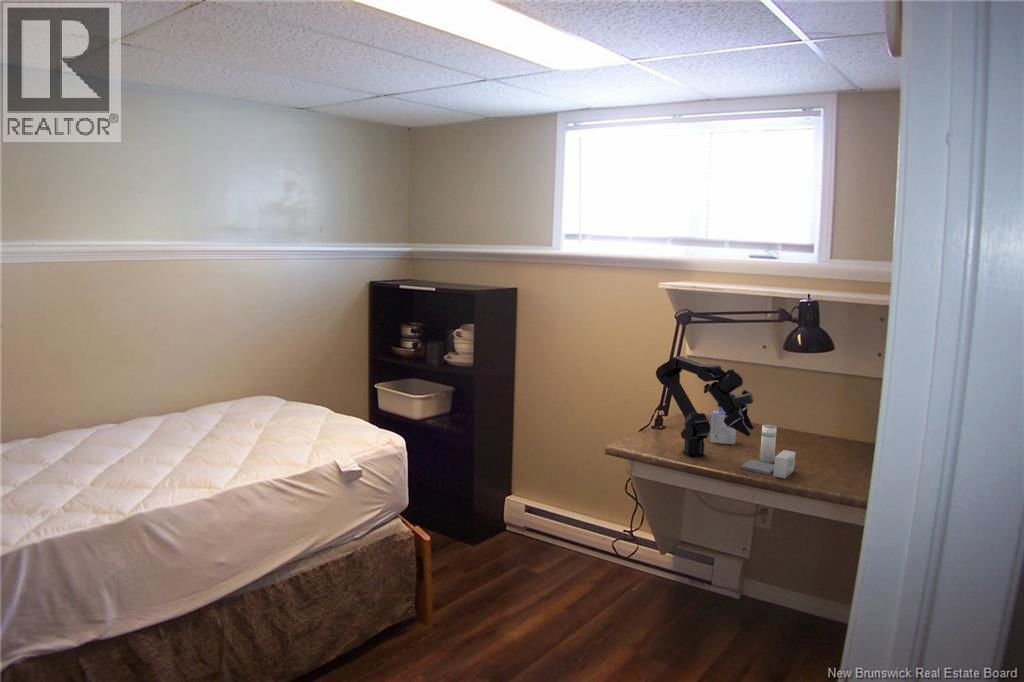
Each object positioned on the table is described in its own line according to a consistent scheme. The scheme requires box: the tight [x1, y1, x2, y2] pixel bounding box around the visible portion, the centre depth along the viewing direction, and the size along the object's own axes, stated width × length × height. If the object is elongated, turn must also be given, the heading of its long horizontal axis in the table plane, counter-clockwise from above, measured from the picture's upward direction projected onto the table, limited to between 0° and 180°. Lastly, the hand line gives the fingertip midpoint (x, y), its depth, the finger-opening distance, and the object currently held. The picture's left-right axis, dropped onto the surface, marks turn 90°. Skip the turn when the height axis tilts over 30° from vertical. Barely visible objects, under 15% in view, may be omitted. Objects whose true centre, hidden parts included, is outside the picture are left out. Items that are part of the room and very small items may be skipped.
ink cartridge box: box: [709, 407, 737, 445], centre depth 285 cm, size 10×6×14 cm, turn 78°
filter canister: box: [759, 424, 778, 464], centre depth 262 cm, size 5×5×13 cm
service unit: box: [773, 449, 796, 479], centre depth 249 cm, size 4×10×7 cm, turn 143°
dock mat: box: [740, 459, 774, 476], centre depth 254 cm, size 10×10×1 cm
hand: (751, 432), depth 253 cm, fingers open, 9 cm apart
